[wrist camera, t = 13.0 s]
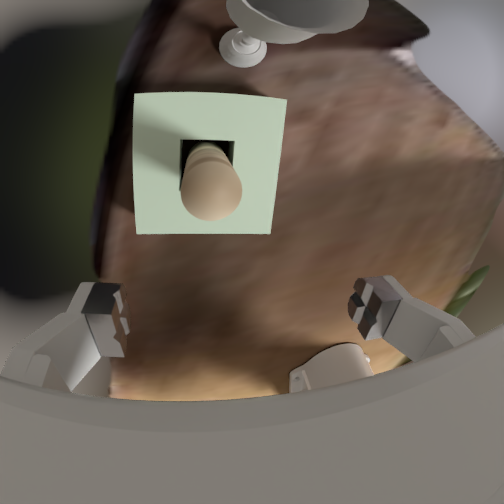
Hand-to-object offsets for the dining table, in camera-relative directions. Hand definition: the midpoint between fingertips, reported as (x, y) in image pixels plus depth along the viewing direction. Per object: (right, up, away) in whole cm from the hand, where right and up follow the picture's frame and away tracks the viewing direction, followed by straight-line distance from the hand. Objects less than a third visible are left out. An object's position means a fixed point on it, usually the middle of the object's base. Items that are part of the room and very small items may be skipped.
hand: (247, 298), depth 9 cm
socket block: (-5, +12, +19) cm, 23 cm away
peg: (-5, +12, +19) cm, 23 cm away
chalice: (-1, +23, +14) cm, 27 cm away
